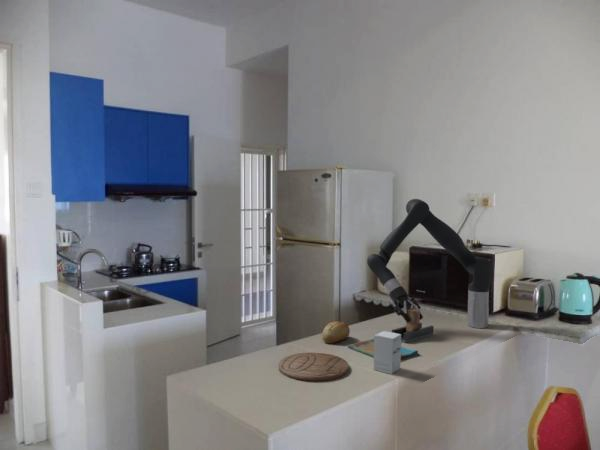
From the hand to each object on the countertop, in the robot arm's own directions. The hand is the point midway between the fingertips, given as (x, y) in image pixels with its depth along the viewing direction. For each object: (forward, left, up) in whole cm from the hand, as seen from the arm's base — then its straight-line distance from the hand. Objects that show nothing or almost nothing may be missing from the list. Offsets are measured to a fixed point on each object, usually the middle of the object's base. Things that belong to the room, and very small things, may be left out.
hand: (415, 320), depth 206 cm
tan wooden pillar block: (0, -1, -7) cm, 7 cm away
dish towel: (+26, +4, -8) cm, 28 cm away
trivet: (+60, +1, -8) cm, 61 cm away
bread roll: (+30, -19, -8) cm, 36 cm away
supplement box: (+40, +18, -8) cm, 44 cm away
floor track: (0, -1, -8) cm, 8 cm away
